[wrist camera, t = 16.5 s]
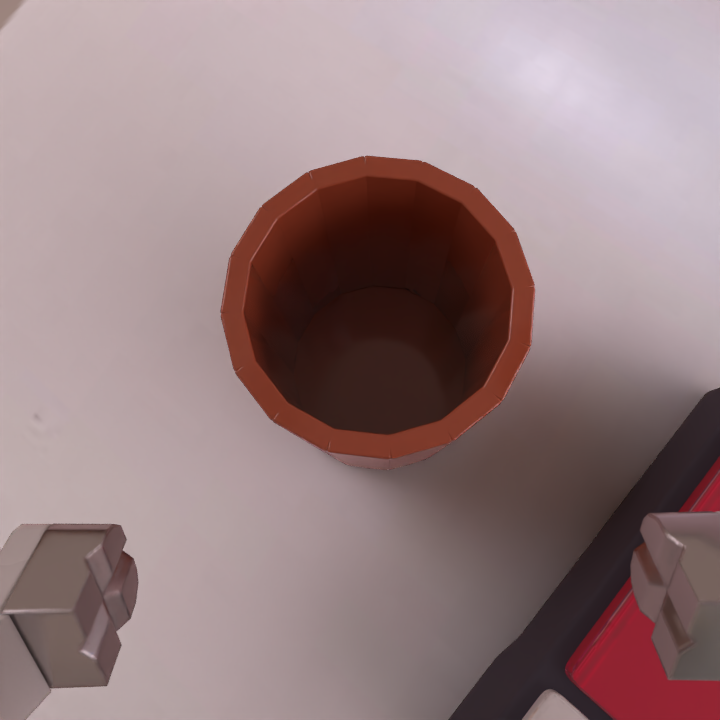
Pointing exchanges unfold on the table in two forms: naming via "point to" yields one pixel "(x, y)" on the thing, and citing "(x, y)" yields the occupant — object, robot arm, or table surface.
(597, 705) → the calculator
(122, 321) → the table surface
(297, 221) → the cup
